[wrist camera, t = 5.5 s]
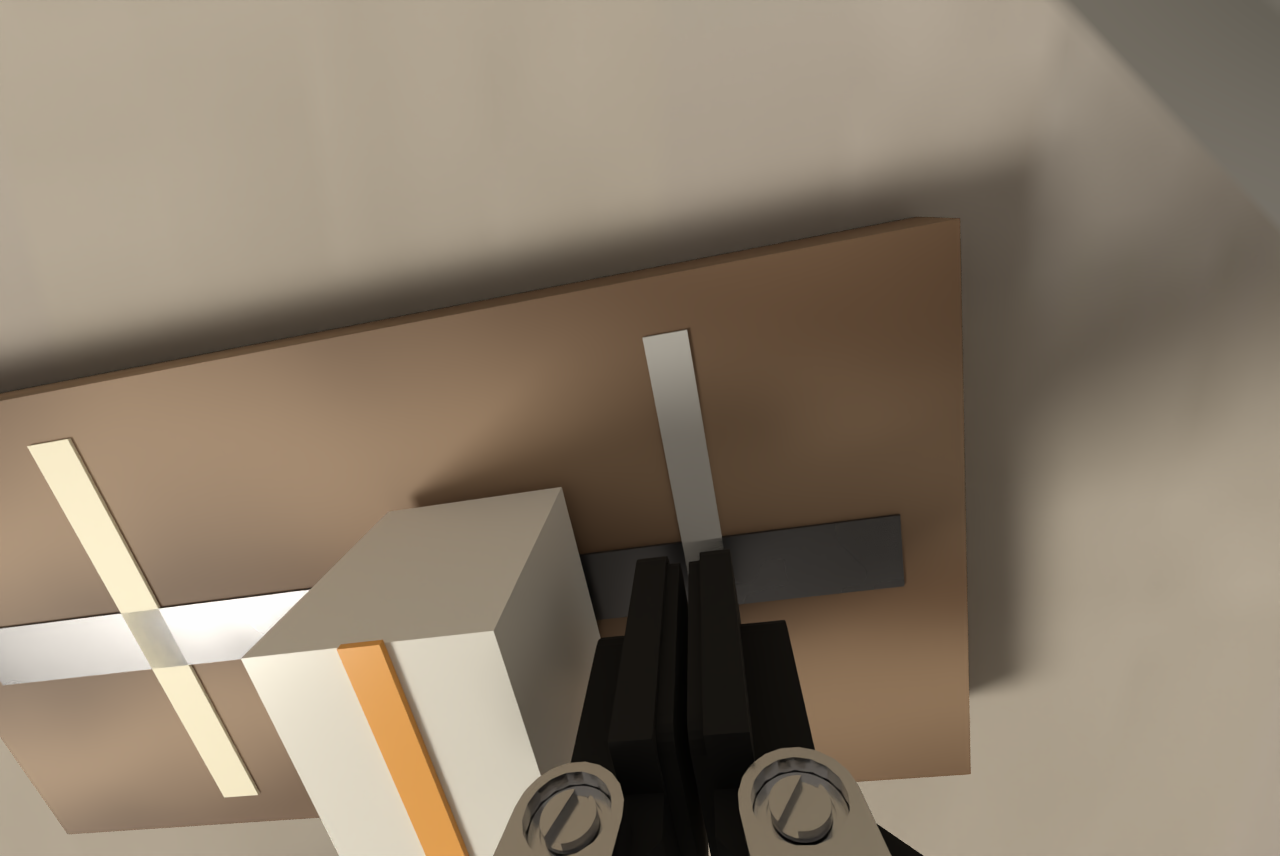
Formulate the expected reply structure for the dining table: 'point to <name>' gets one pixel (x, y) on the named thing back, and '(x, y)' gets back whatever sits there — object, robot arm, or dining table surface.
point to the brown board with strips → (493, 466)
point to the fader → (434, 674)
